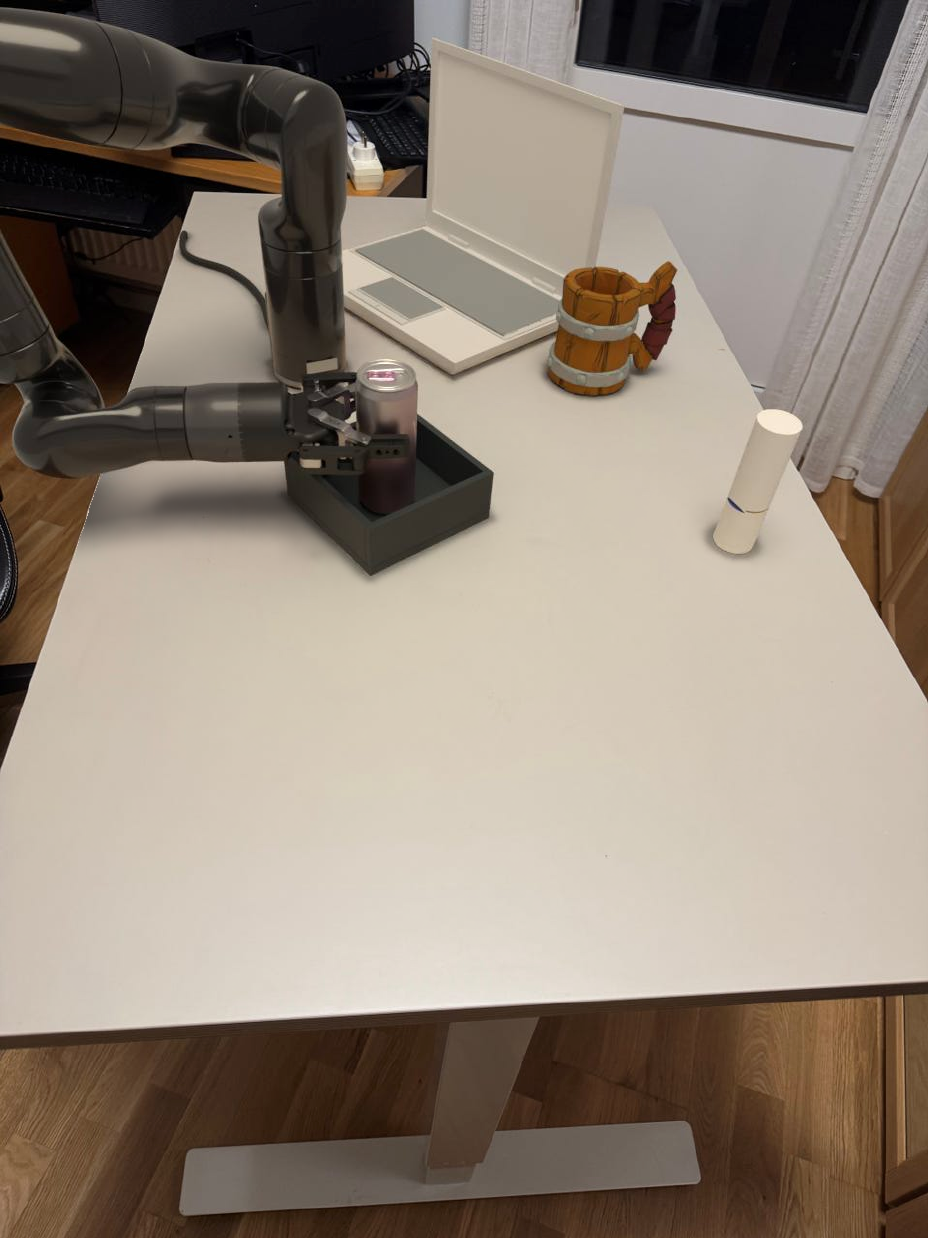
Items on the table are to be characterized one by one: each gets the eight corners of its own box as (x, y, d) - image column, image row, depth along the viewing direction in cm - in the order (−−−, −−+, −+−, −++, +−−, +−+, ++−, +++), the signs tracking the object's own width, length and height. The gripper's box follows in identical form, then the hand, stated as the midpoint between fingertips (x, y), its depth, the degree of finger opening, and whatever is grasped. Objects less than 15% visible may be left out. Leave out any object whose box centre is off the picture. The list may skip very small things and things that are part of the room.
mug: (534, 357, 115) (549, 246, 104) (646, 351, 118) (672, 243, 107) (556, 400, 108) (575, 286, 97) (675, 393, 111) (706, 281, 100)
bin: (287, 494, 91) (282, 448, 87) (402, 447, 99) (403, 402, 94) (370, 575, 83) (369, 529, 79) (489, 517, 91) (494, 472, 86)
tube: (754, 533, 92) (803, 415, 81) (750, 558, 89) (801, 438, 78) (715, 523, 93) (759, 405, 82) (710, 547, 90) (754, 428, 79)
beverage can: (358, 482, 92) (354, 356, 81) (413, 482, 93) (416, 358, 82) (358, 517, 88) (354, 390, 77) (415, 517, 88) (419, 391, 78)
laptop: (297, 281, 126) (279, 60, 105) (430, 240, 139) (437, 36, 119) (453, 381, 109) (468, 141, 89) (587, 324, 123) (627, 104, 102)
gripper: (229, 432, 74) (413, 429, 76) (239, 349, 83) (402, 348, 86) (240, 499, 79) (412, 495, 81) (248, 414, 89) (401, 412, 91)
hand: (407, 420), depth 83 cm, fingers open, 8 cm apart
